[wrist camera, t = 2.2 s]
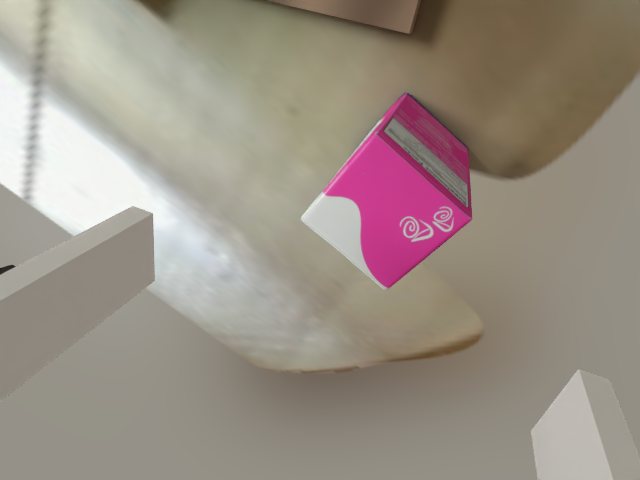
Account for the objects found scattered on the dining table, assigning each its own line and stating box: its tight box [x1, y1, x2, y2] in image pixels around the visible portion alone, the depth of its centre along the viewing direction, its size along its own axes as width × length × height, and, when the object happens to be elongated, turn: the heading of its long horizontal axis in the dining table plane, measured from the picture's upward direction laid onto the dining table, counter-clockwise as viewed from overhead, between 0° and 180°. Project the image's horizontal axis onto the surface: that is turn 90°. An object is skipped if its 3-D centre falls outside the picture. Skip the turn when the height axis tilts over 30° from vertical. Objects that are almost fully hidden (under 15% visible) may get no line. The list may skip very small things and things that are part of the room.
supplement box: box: [301, 93, 472, 290], centre depth 23 cm, size 6×6×12 cm
